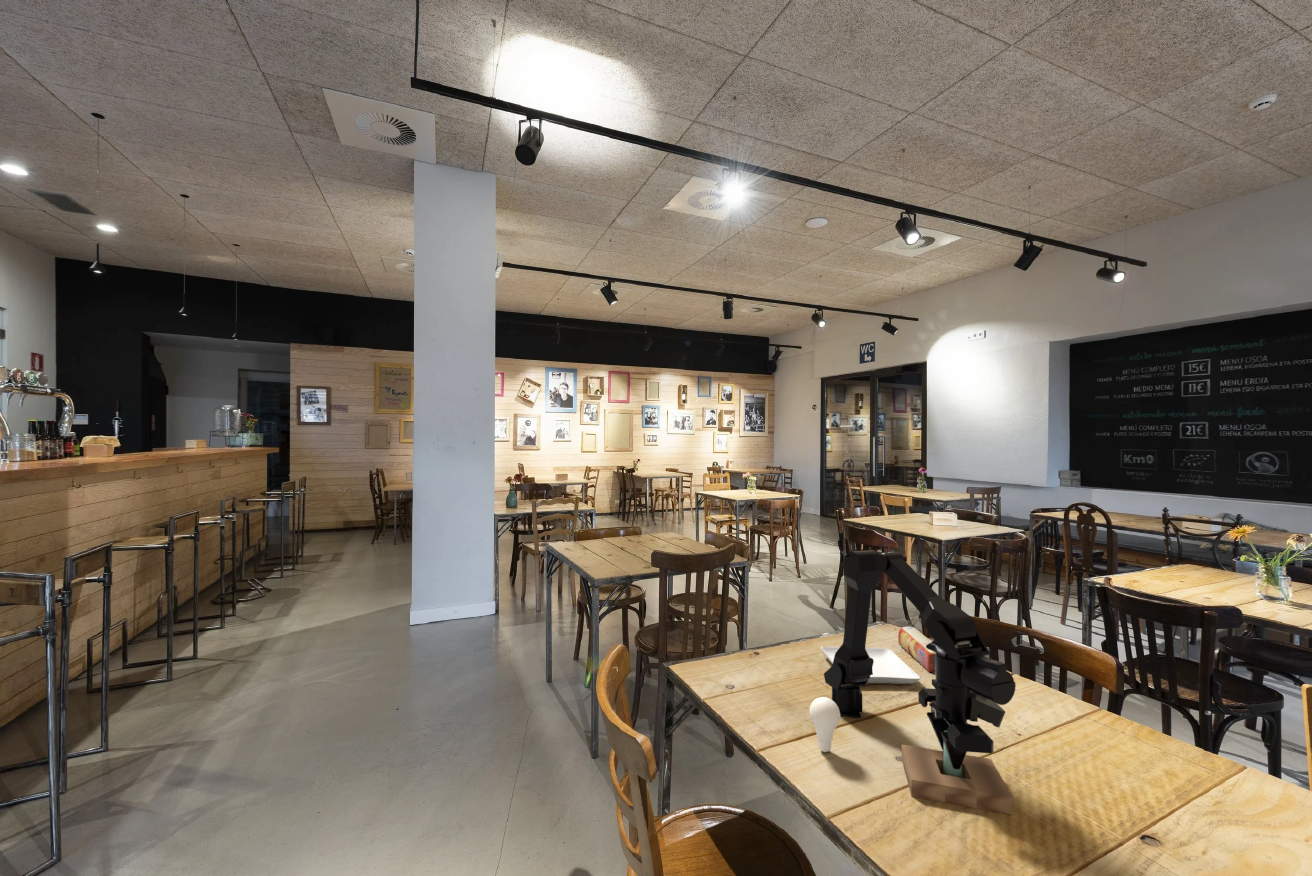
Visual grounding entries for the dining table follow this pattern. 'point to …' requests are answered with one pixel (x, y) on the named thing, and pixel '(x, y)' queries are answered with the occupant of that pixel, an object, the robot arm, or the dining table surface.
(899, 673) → the salad plate
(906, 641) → the snack package
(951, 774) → the long teal pin
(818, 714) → the lightbulb
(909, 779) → the walnut hole block
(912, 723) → the dining table surface
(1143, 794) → the dining table surface
